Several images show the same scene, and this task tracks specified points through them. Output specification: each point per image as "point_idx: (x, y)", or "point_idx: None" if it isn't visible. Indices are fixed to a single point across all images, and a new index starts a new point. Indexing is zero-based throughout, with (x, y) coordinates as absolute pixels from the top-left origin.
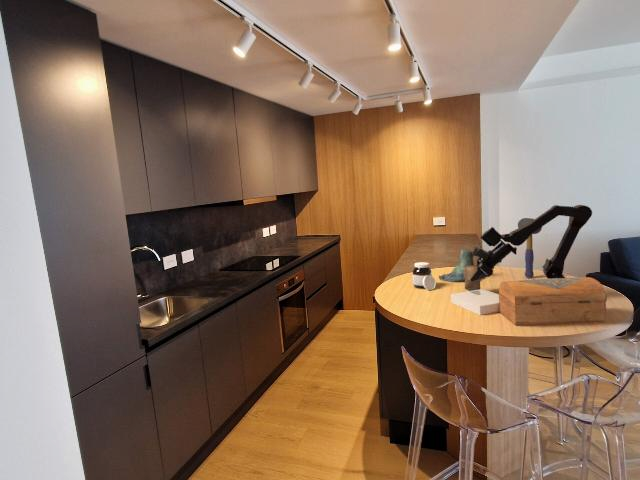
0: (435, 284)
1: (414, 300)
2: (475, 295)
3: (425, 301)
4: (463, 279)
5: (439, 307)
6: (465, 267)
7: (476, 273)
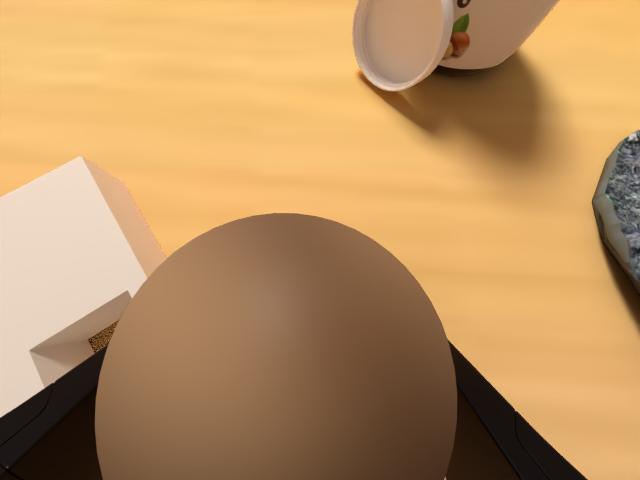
0: (413, 83)
1: (165, 12)
2: (17, 333)
3: (145, 59)
4: (632, 274)
5: (28, 123)
6: (219, 226)
7: (9, 425)
